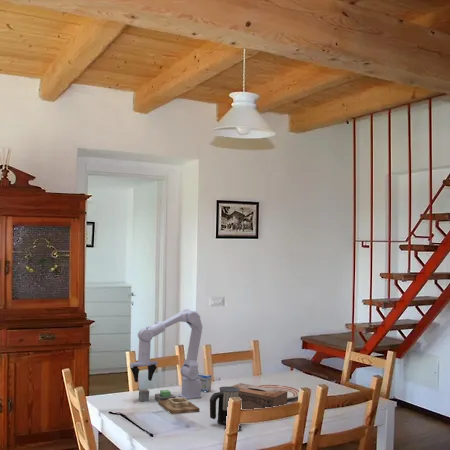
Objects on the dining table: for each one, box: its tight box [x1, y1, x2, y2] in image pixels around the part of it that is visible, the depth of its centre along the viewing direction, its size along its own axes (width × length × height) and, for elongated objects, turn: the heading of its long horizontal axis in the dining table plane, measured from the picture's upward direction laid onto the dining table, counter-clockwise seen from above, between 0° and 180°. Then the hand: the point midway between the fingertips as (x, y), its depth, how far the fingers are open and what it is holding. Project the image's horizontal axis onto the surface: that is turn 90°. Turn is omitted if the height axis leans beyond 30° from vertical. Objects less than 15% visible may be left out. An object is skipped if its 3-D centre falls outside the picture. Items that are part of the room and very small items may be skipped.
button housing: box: [154, 393, 177, 403], centre depth 287 cm, size 8×8×2 cm
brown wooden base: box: [158, 397, 200, 415], centre depth 275 cm, size 14×18×4 cm
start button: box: [159, 389, 172, 397], centre depth 287 cm, size 4×4×2 cm
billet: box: [138, 388, 150, 403], centre depth 286 cm, size 4×4×5 cm
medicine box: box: [196, 373, 213, 393], centre depth 311 cm, size 8×4×9 cm, turn 62°
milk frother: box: [209, 386, 242, 429], centre depth 251 cm, size 14×16×15 cm
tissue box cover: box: [230, 382, 288, 409], centre depth 277 cm, size 26×14×10 cm, turn 59°
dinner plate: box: [256, 383, 300, 401], centre depth 306 cm, size 27×27×3 cm
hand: (143, 381), depth 286 cm, fingers open, 7 cm apart
